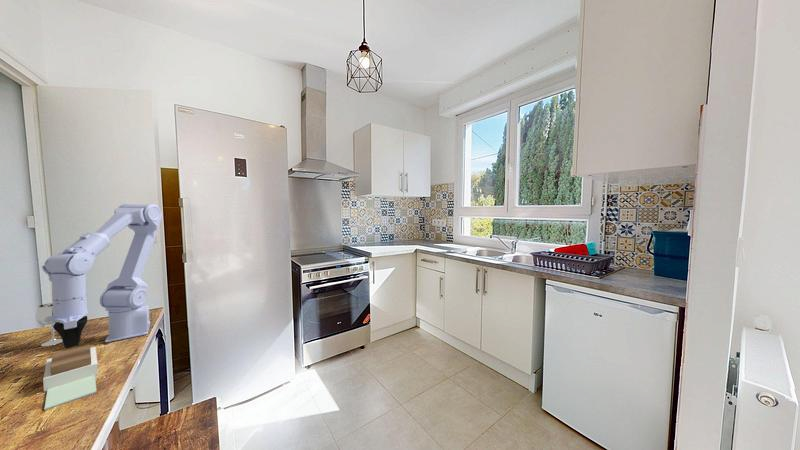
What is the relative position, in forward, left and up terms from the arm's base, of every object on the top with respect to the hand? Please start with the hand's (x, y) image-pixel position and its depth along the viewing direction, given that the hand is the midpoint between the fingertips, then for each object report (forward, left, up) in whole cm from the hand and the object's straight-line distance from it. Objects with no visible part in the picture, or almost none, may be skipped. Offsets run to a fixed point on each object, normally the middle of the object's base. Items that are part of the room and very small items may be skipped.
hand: (72, 346), depth 70 cm
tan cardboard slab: (-2, +9, -1) cm, 9 cm away
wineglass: (+7, -18, -4) cm, 20 cm away
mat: (-4, +18, -4) cm, 19 cm away
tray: (-2, +8, -4) cm, 9 cm away
